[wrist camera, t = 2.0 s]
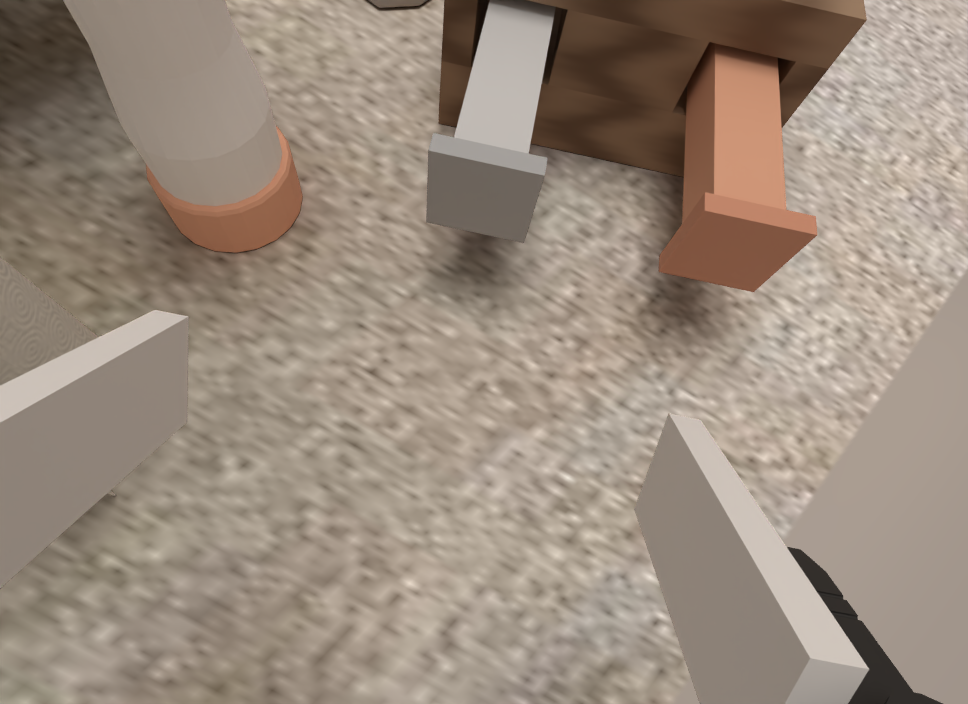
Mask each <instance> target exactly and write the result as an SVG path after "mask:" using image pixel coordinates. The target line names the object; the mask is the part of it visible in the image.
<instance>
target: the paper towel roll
mask: <svg viewBox="0 0 968 704" xmlns="http://www.w3.org/2000/svg"><path fill="white" fill-rule="evenodd" d="M96 338H98V336H97V335H96V334H94V333H93V332H92V331H91V330H89V329H88V328H87V327H86V326H85V325H83V324H82V323H81V322H80V321H78V320H77V319H76V318H75V317H74V316H72V315H71V314H70V313H69V312H67V311H66V310H65V309H64V308H62V307H61V306H60V305H59V304H58V303H56V302H55V301H54V300H53V299H51V298H50V297H49V296H48V295H47V294H45V293H44V292H43V291H42V290H40V289H39V288H38V287H37V286H35V285H34V284H33V283H32V282H31V281H29V280H28V279H27V278H26V277H24V276H23V275H22V274H21V273H20V272H18V271H17V270H16V269H15V268H13V267H12V266H11V265H10V264H8V263H7V262H6V261H5V260H4V259H2V258H1V257H0V385H2V384H5V383H7V382H9V381H11V380H13V379H15V378H17V377H19V376H21V375H23V374H25V373H27V372H29V371H31V370H33V369H35V368H37V367H39V366H41V365H43V364H45V363H47V362H49V361H51V360H53V359H55V358H57V357H60V356H62V355H64V354H66V353H68V352H70V351H72V350H74V349H76V348H78V347H80V346H82V345H84V344H86V343H88V342H90V341H92V340H94V339H96ZM107 494H109V495H112V496H116V495H115V494H114V493H113V492H112V491H111V490H110V491H109V492H108V493H107Z"/></svg>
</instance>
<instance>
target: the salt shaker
mask: <svg viewBox="0 0 968 704" xmlns="http://www.w3.org/2000/svg"><path fill="white" fill-rule="evenodd" d="M63 1H64V3H65V5H66V7H67V8H68V10H69V12H70V13H71V15H72V17H73V19H74V20H75V22H76V24H77V25H78V27H79V29H80V31H81V32H82V34H83V36H84V37H85V39H86V41H87V43H88V44H89V46H90V49H91V51H92V54H93V56H94V59H95V61H96V64H97V66H98V69H99V71H100V74H101V77H102V79H103V82H104V84H105V87H106V89H107V92H108V94H109V97H110V100H111V102H112V105H113V107H114V110H115V112H116V115H117V117H118V120H119V123H120V124H121V126H122V128H123V129H124V131H125V133H126V134H127V136H128V138H129V139H130V141H131V142H132V144H133V145H134V147H135V148H136V150H137V151H138V153H139V154H140V156H141V157H142V159H143V160H144V162H145V163H146V170H147V179H148V181H149V183H150V184H151V186H152V188H153V189H154V191H155V193H156V195H157V196H158V198H159V199H160V201H161V202H162V204H163V205H164V207H165V209H166V210H167V212H168V213H169V215H170V216H171V218H172V219H173V221H174V222H175V224H176V226H177V227H178V229H179V230H180V232H181V233H182V234H183V235H185V236H186V237H187V238H188V239H190V240H191V241H192V242H194V243H195V244H197V245H199V246H202V247H205V248H208V249H210V250H213V251H221V252H235V253H237V252H242V251H248V250H253V249H258V248H260V247H262V246H264V245H266V244H269V243H271V242H273V241H275V240H277V239H278V238H279V237H280V236H281V235H283V234H284V233H285V232H286V231H287V230H288V229H289V228H291V226H292V224H293V223H294V221H295V220H296V218H297V216H298V215H299V213H300V208H301V203H302V197H303V196H302V192H301V188H300V183H299V179H298V176H297V172H296V169H295V165H294V161H293V158H292V154H291V151H290V147H289V144H288V141H287V140H286V138H285V137H284V135H283V134H282V133H281V131H280V130H279V128H278V127H277V126H276V125H275V121H274V117H273V113H272V109H271V105H270V101H269V98H268V94H267V90H266V87H265V85H264V83H263V81H262V79H261V77H260V75H259V73H258V71H257V69H256V67H255V65H254V63H253V61H252V59H251V57H250V55H249V53H248V51H247V49H246V47H245V45H244V43H243V41H242V39H241V37H240V35H239V33H238V31H237V29H236V27H235V25H234V23H233V21H232V19H231V17H230V14H229V11H228V8H227V5H226V2H225V0H63Z"/></svg>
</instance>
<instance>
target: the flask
mask: <svg viewBox="0 0 968 704" xmlns="http://www.w3.org/2000/svg"><path fill="white" fill-rule="evenodd" d="M369 1H370V2H372V3H373V4H375V5H376V6H378V7H379V8H383V7H402V6H419V5H421V4H422V3H424V2H425V1H427V0H369Z"/></svg>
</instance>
